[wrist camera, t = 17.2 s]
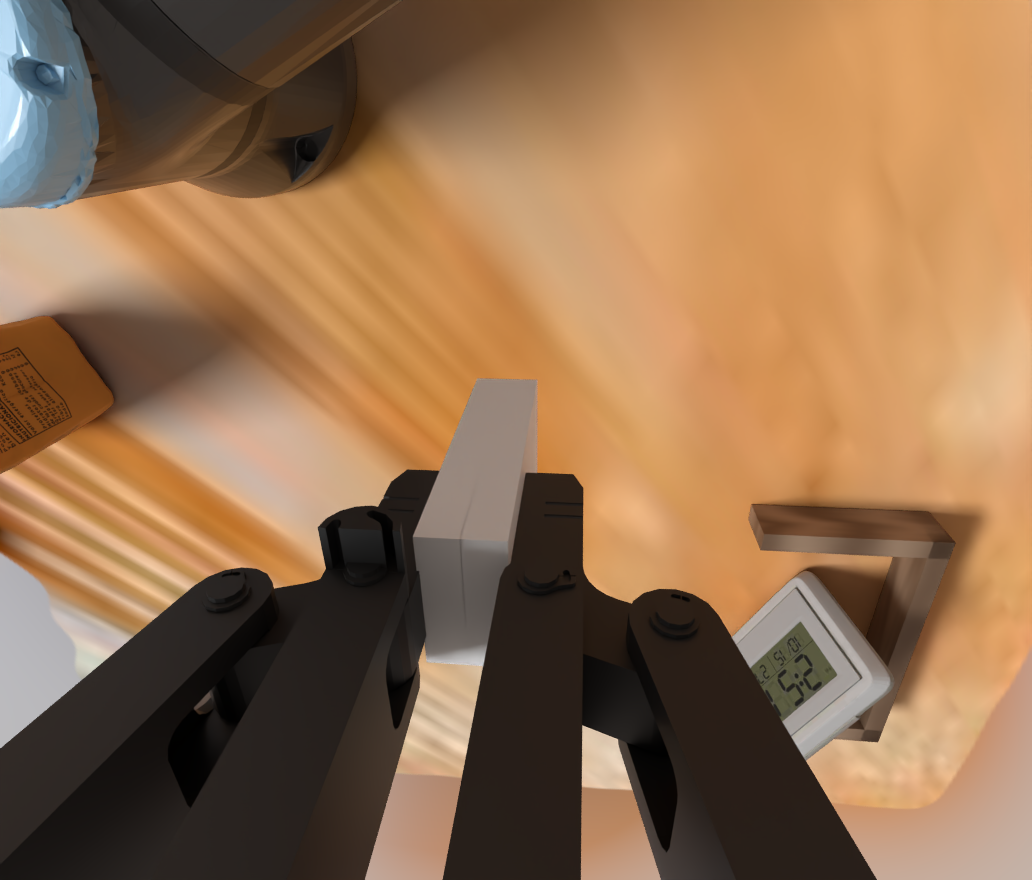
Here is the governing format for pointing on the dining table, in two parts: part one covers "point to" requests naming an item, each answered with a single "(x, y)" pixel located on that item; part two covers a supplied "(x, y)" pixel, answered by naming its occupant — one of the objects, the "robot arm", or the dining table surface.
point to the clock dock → (906, 587)
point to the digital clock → (812, 662)
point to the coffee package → (43, 389)
